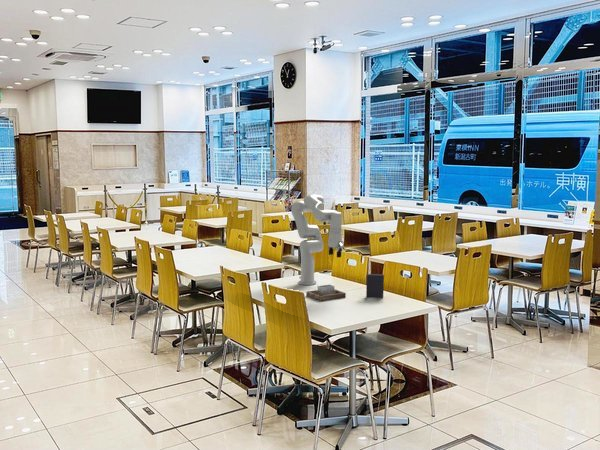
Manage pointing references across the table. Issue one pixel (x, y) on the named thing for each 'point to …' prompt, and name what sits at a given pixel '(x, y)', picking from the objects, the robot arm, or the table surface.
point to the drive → (325, 290)
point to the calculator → (375, 285)
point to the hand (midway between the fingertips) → (334, 255)
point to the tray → (315, 295)
